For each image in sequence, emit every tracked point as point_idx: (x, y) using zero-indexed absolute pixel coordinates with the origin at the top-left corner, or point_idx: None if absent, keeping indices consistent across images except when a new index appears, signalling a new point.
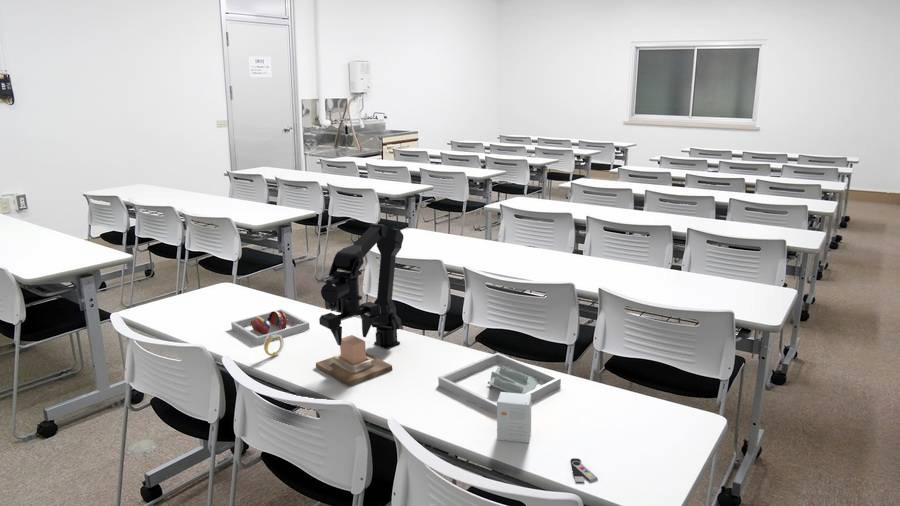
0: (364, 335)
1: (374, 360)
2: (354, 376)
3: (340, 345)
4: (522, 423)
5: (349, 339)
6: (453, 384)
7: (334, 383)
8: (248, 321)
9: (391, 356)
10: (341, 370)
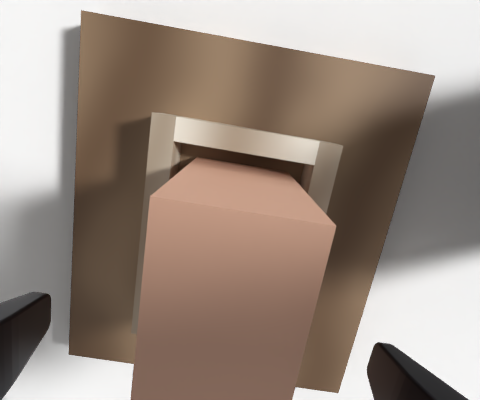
0: (377, 385)
1: (337, 289)
2: (129, 337)
3: (45, 327)
4: None
5: (214, 300)
6: None
7: (54, 263)
8: None
9: (462, 274)
10: (128, 236)
